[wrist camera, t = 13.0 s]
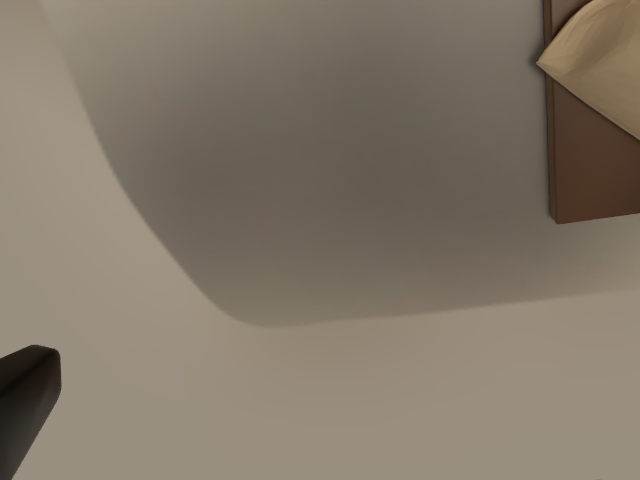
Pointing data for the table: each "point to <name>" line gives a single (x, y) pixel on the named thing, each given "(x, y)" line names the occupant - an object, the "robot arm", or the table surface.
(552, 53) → the decorative ornament
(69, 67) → the table surface
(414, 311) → the table surface
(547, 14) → the coaster
